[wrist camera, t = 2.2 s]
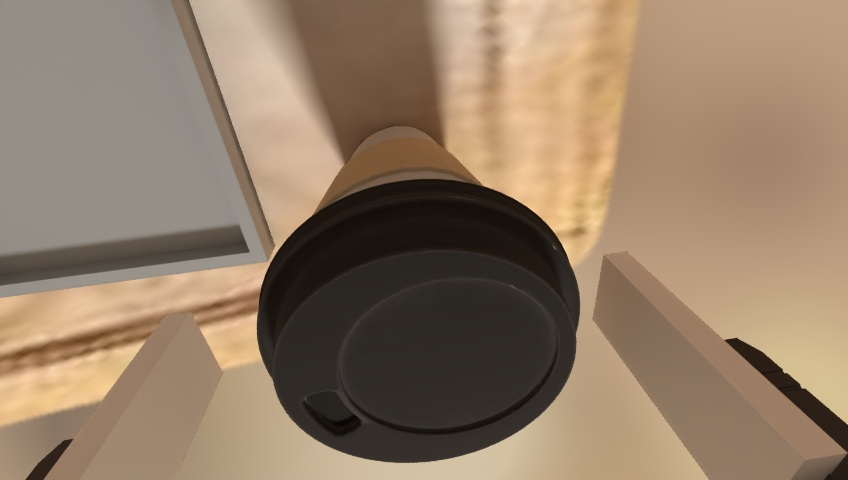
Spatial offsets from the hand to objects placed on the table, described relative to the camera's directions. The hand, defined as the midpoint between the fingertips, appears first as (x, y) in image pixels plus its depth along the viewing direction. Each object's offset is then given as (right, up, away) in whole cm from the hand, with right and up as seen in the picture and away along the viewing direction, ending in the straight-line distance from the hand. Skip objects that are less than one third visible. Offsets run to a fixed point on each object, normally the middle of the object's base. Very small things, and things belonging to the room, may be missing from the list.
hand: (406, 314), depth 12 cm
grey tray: (-19, +8, +7) cm, 22 cm away
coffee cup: (-1, +6, +10) cm, 12 cm away
